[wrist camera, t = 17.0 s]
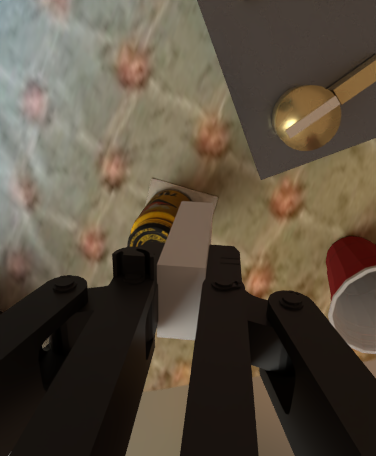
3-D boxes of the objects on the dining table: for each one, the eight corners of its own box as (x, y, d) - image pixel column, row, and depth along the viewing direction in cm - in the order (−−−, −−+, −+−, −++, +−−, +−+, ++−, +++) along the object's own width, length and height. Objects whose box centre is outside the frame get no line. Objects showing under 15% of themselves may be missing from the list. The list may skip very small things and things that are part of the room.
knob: (291, 156, 39) (298, 164, 35) (260, 110, 38) (264, 112, 34) (396, 86, 36) (416, 86, 32) (367, 31, 34) (384, 25, 30)
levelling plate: (187, -27, 36) (185, -33, 34) (475, -180, 30) (491, -198, 28) (259, 175, 42) (260, 180, 41) (506, 84, 36) (521, 83, 35)
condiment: (151, 177, 44) (126, 208, 33) (218, 196, 44) (215, 234, 33) (139, 230, 47) (112, 275, 36) (202, 248, 47) (194, 299, 36)
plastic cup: (306, 298, 48) (330, 363, 37) (302, 223, 44) (328, 269, 33) (394, 292, 46) (446, 357, 35) (397, 212, 42) (458, 257, 31)
